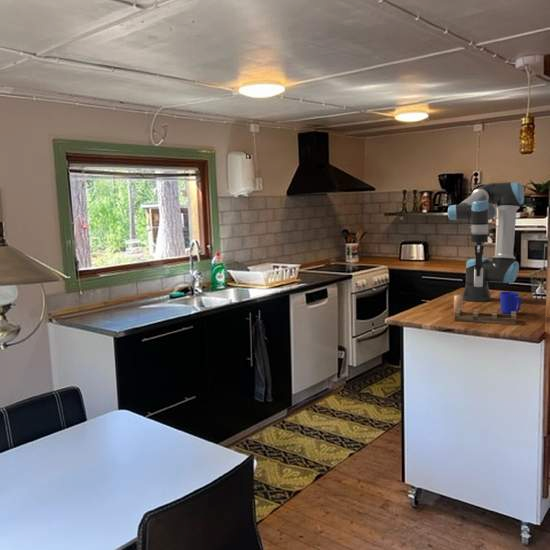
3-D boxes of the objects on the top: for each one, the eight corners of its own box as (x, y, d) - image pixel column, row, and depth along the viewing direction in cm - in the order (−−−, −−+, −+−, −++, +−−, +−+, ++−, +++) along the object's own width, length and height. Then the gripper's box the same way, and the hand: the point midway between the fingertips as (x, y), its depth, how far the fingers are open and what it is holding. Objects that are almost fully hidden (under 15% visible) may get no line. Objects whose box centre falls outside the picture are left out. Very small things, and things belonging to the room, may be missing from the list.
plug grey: (474, 285, 264) (474, 267, 262) (482, 285, 262) (483, 267, 261) (473, 286, 260) (474, 268, 259) (482, 287, 258) (482, 268, 257)
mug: (512, 317, 256) (513, 296, 255) (495, 312, 268) (496, 292, 267) (527, 315, 258) (527, 295, 257) (509, 311, 270) (510, 291, 269)
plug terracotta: (454, 312, 269) (454, 294, 268) (462, 313, 267) (463, 295, 266) (453, 314, 265) (453, 296, 264) (461, 314, 264) (462, 296, 263)
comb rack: (456, 316, 260) (456, 308, 260) (515, 320, 250) (516, 311, 249) (454, 320, 251) (454, 312, 250) (515, 324, 241) (516, 315, 240)
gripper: (472, 232, 267) (471, 279, 270) (469, 234, 252) (468, 284, 255) (488, 232, 264) (487, 279, 267) (487, 234, 249) (485, 285, 252)
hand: (478, 282), depth 261 cm, fingers closed on plug grey, 3 cm apart
